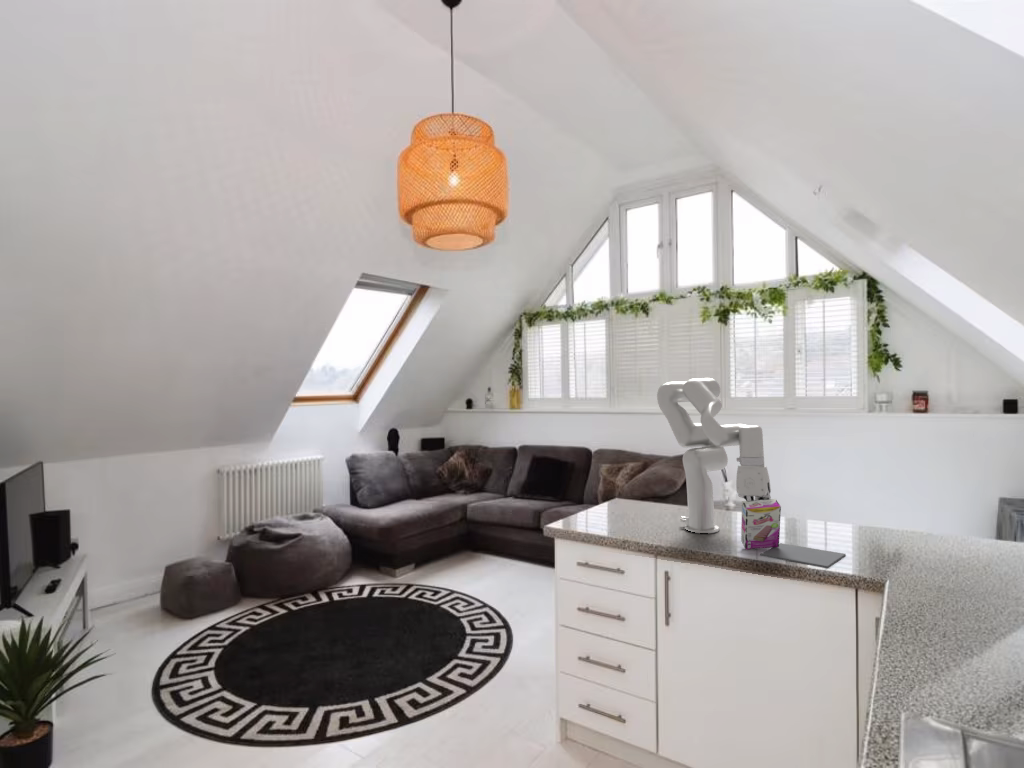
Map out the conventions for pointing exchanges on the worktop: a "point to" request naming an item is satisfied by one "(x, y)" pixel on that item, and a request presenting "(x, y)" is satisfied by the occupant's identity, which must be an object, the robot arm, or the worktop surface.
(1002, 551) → the worktop surface
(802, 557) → the mat
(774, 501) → the candy bar box
